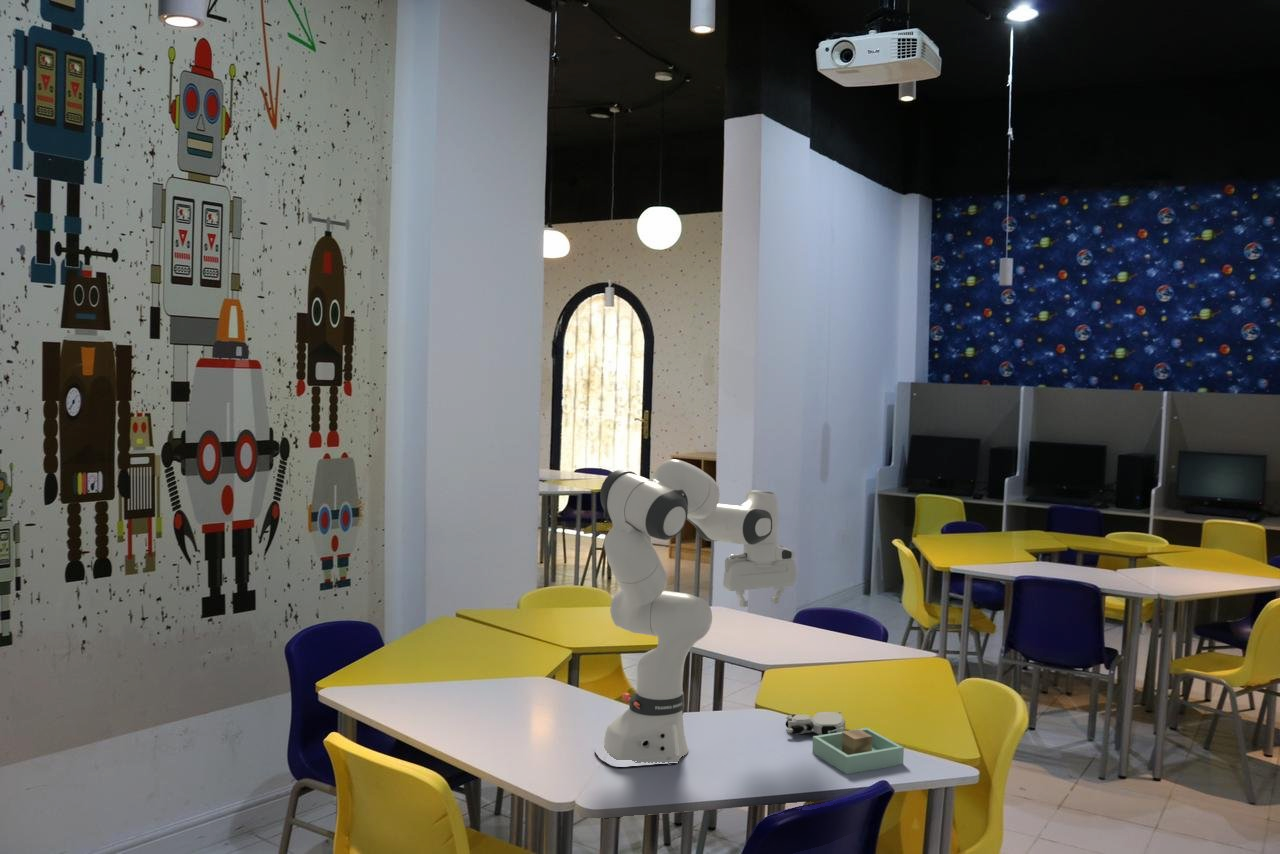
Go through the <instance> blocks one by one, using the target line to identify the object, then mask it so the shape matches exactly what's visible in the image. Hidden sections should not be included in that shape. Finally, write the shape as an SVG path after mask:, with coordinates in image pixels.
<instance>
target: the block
mask: <svg viewBox="0 0 1280 854" xmlns="http://www.w3.org/2000/svg"><path fill="white" fill-rule="evenodd" d="M857 729H858V730H856V729H851V730H852V731H850V730H845V731H846V732H842V752H844V753H845V754H847V755H851V754H857V753H863V752H869V751H872V736H871V735H869V734H867V733H865V732H864V731H862V730H860V729H861V728H857Z"/></svg>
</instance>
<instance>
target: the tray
mask: <svg viewBox="0 0 1280 854" xmlns="http://www.w3.org/2000/svg"><path fill="white" fill-rule="evenodd" d="M858 729H860V730H862V731H864V732H865V733H867V734H869V735H871V736H872V751H869V752H863V753H857V754H851V755H847V754H845V753H844V752H842V732H837V733H831V734H825V735H813V736H812V754H813V755H815V756H817V757H819V758H820V759H822V760H823V759H824V761H825V762H826V763H828V764H830V765H831V766H833V767H834V768H836V769H837V770H839V771H840V772H842V773H844V774H846V775H850V774H855V773H861V772H867V771H873V770H879V769H884V768H889V767H896V766H902V765H904V751H905V749H904V748H905V747H903V746H902V745H900V744H898V743H896V742H894V741H892V740H891V739H889V738H887V737H885V736H883V735H881V734H880V733H878V732H876V731H874V730H873V729H871V728H869V727H864V728H857V729H855V730H858ZM852 730H853V729H851V730H849V731H852ZM846 731H847V730H844V732H846Z"/></svg>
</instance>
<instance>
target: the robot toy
mask: <svg viewBox="0 0 1280 854" xmlns="http://www.w3.org/2000/svg"><path fill="white" fill-rule="evenodd" d="M842 713H843V711H837V712H836V711H820V712H817V713H816V714H814V716H811V715H810V714H795V713H794V714H792V715H791V714H790V715H787V716H786V722H785V727H786V729H785V732H786V733H788V734H793V735H796V734H797V735H803V734H807V733H808V734H810V733H811V732H812V731H813V732H814V733H816V735H817V736H819V735H825V734H831V733H837V732H844V731H846V730H845V729H846V719H845V718H844V716H843V715H842Z"/></svg>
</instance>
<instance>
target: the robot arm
mask: <svg viewBox="0 0 1280 854" xmlns="http://www.w3.org/2000/svg"><path fill="white" fill-rule="evenodd" d="M599 493H600V494H599V495H600V504H601V507H602V509H603V518H604V520H606V521H607V522H608V523H610V524H612V527H611V529H610V530H609V531H608V532H607V534H606V535H605V539H604V544H603V548H604V552H605V556H606V559H607V563H608V565H609V568H610V570H611V573H612V574H613V576H614V578H615V580H616V582H617V583H618V585H619V588H620V589H619V590H618V591H617V592H616V593H615V594H614V595H613V598H612V599H611V603H610V609H609V610H610V617H611V620H612V622H613V624H614V625H615V627H618V628H620V629H622V630H624V631H628V632H629V633H633V634H639V635H645V636H653V637H656V638H657V646H656V647H655V648H653V649H651V650H648V651H646V652H645V653H643V654H641V656H640V657H639V659H638V661H637V664H636V690H635V691H634V694H632V695H631V694H630V693H629V692H623V694H622V696H621V698H622V701H624V702H625V703H627V704H629V707H628V708H627V709H626V710H625V711H624V712H622V714H620V715H619V716H618V717H617V718H615V719H614V720H613V721H612V722H610V723H609V724H608V725H607V727H606V730H605V733H604V734H605V735H604V741H603V743H604V748H605V750H606V751H607V753H609V755H610V756H611V757H613V758H614V759H616V760H632V761H634V762H635V761H637V762H635V763H641V762H644V763H646V762H648V763H650V762H651V763H653V762H655V763H657V762H659V763H660V762H662V763H665V762H668V763H669V762H678V761H679V759H680V757H682V756H683V757H685V756H686V755H687V754H688V753H689V747H688V745H687V740H686V739H687V738H686V736H685V726H684V713H685V692H684V691H683V681H684V671H685V669H684V667H685V662H686V658H687V656H688V654H689V652H690V650H691V648H693V646H694V645H696V643H697V642H698V641H700V640H702V639H703V638H704V637H705V636H706V635H708V633H709V631H710V629H711V626H712V622H713V612H712V609H711V606H710V604H709V603H708V601H707V600H706V599H704V598H701V597H698V596H696V595H693V594H690V593H685V592H678V591H670V590H665V589H666V587H667V585H668V583H667V582H668V573H667V571H666V569H665V566H664V565H663V563H662V560H661V558H660V556H659V553H658V552H657V550H656V547H655V546H654V545H653V542H652V538H655V539H658V540H662V541H663V540H664V541H668V540H671V539H673V538H674V537H676V536H678V535H679V533H681V531H682V530H683V529H684V527H685V525H686V523H687V521H688V522H689V523H690V524H692V526H693V527H694V528H695V530H696V532H697V533H698V535H699V536H700V538H702V540H704V541H706V542H722V543H730V544H735V545H736V544H737V545H743V553H735V554H734V553H733V554H730V555H729V556H728V557H726V558H725V560H724V571H723V582H722V584H723V585H722V586H723V588H724V589H725V590H727V591H730V592H735V594H736V596H737V597H738V600H739V606H740V607H741V608H747V607H748V606H749V600H748V599H746V598H745V597H744V595H745V593H746V592H745V591H749V590H751V591H752V590H758V589H759V590H760V589H770V588H774V590H775V592H774V595H772V596H771V597H770V599H771V600H770V602H771V604H773V605H778V604H780V601H781V599H780V598H781V596H782V595H783V593H784V590H785V589H784V587H793V586H795V585H796V582H797V579H798V578H797V573H798V572H797V564H796V561H795V560H794V559H795V557H796V551H794V550H792V549H790V548H786V547H783V546H782V545H779V538H778V534H777V532H778V528H779V505H778V498H777V495H776V494H775V493H774V492H771V491H765V490H757V489H756V490H755V489H751V490H748V491H747V493H746V496H745V497H746V498H745V501H744V502H743V503H741V504H740V505H736V504H726V503H720V487H719V484H718V483H717V482H716V481H715V479H714V478H713V477H712V476H711V475H709V474H708V473H707V472H705V471H704V470H702V469H701V468H699V467H697V466H696V465H693V464H691V463H689V462H687V461H684V460H681V459H674V458H672V459H667V460H665V461H663V462H662V463H660V464H659V465H658V466H657V468H656V469H655V471H654V472H653V478H651V479H649V478H646V477H644V476H642V475H639V474H636V473H635V472H633V471H630V470H624V469H620V470H619V469H618V470H614V471H612V472H611V473H609V474H608V475H607V477H605V479H604V480H603V482H602V484H601V486H600V492H599ZM684 755H685V756H684ZM683 757H682V758H683ZM680 760H681V759H680ZM679 762H680V761H679Z"/></svg>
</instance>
